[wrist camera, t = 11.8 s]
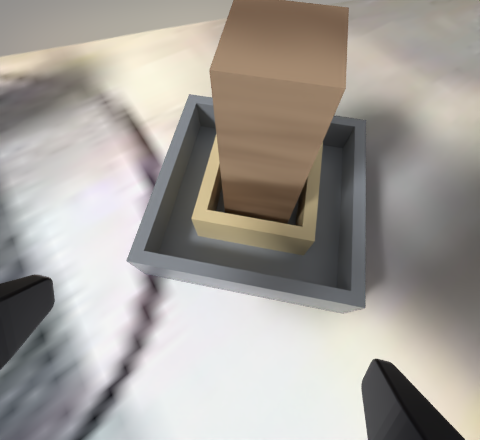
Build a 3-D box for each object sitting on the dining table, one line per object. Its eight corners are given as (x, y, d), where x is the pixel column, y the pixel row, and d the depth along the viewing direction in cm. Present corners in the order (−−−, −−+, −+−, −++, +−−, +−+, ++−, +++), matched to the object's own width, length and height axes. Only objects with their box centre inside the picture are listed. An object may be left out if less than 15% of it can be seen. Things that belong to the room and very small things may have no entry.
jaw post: (284, 229, 19) (345, 88, 8) (225, 219, 20) (209, 69, 9) (291, 179, 21) (348, 7, 10) (237, 170, 21) (235, -6, 10)
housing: (342, 313, 18) (369, 307, 14) (145, 273, 19) (123, 258, 15) (348, 149, 24) (368, 115, 20) (195, 125, 25) (188, 88, 21)
